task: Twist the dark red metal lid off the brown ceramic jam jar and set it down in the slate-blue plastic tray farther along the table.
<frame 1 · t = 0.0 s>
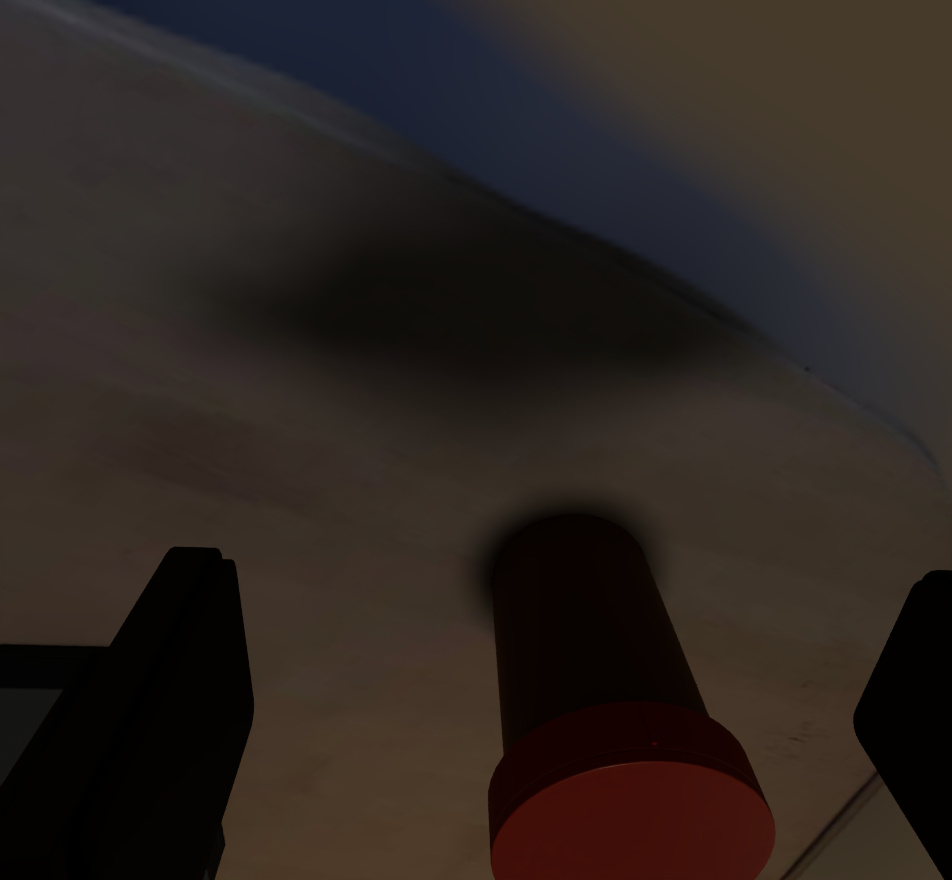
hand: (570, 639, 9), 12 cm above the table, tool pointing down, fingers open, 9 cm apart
jar lid: (629, 842, 16), point 9 cm above the table, screwed on, not yet turned
tray: (58, 755, 28), on the table
jar: (568, 579, 24), on the table
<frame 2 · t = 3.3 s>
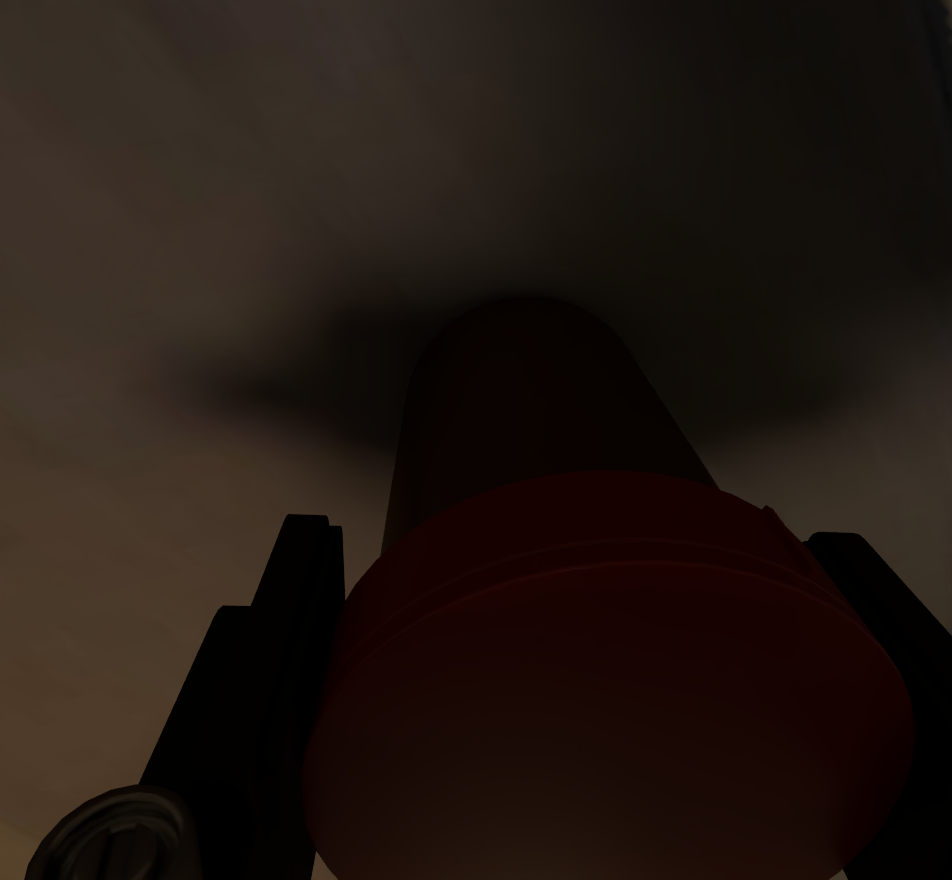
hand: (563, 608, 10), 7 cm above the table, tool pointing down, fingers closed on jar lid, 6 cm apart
jar lid: (599, 778, 8), point 9 cm above the table, screwed on, not yet turned, touching gripper
jar: (523, 412, 16), on the table
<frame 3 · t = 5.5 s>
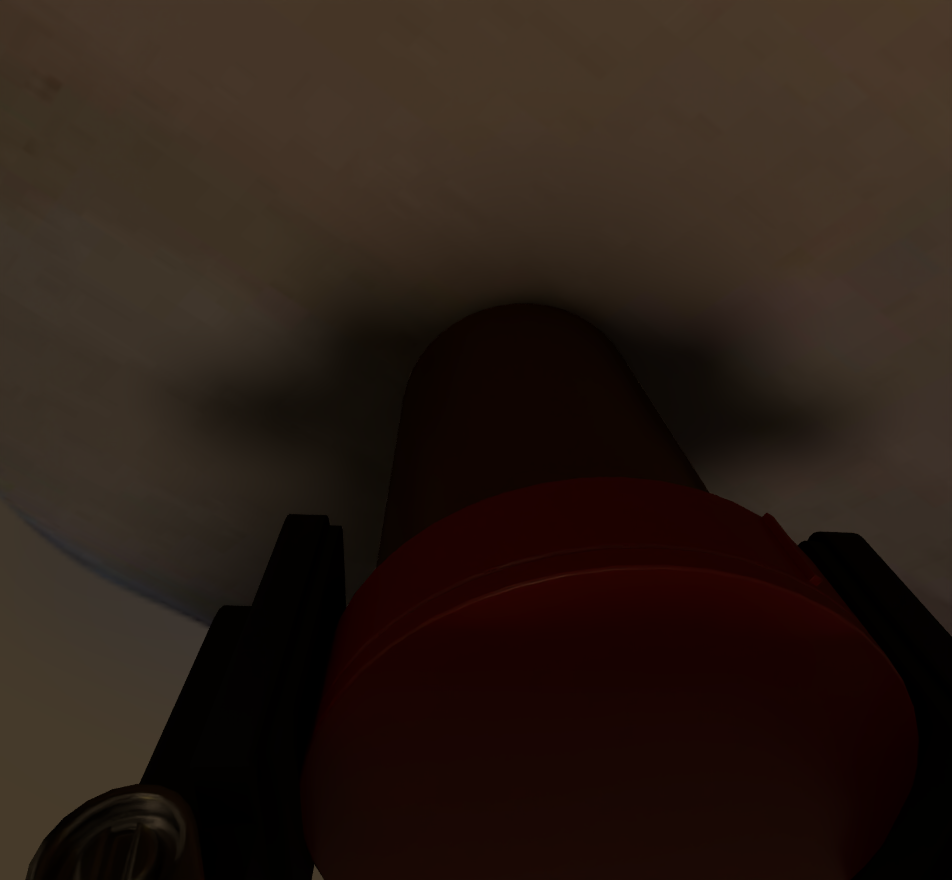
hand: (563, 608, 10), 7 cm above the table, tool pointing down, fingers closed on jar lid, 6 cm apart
jar lid: (601, 789, 7), point 10 cm above the table, off its thread, touching gripper
jar: (518, 417, 16), on the table
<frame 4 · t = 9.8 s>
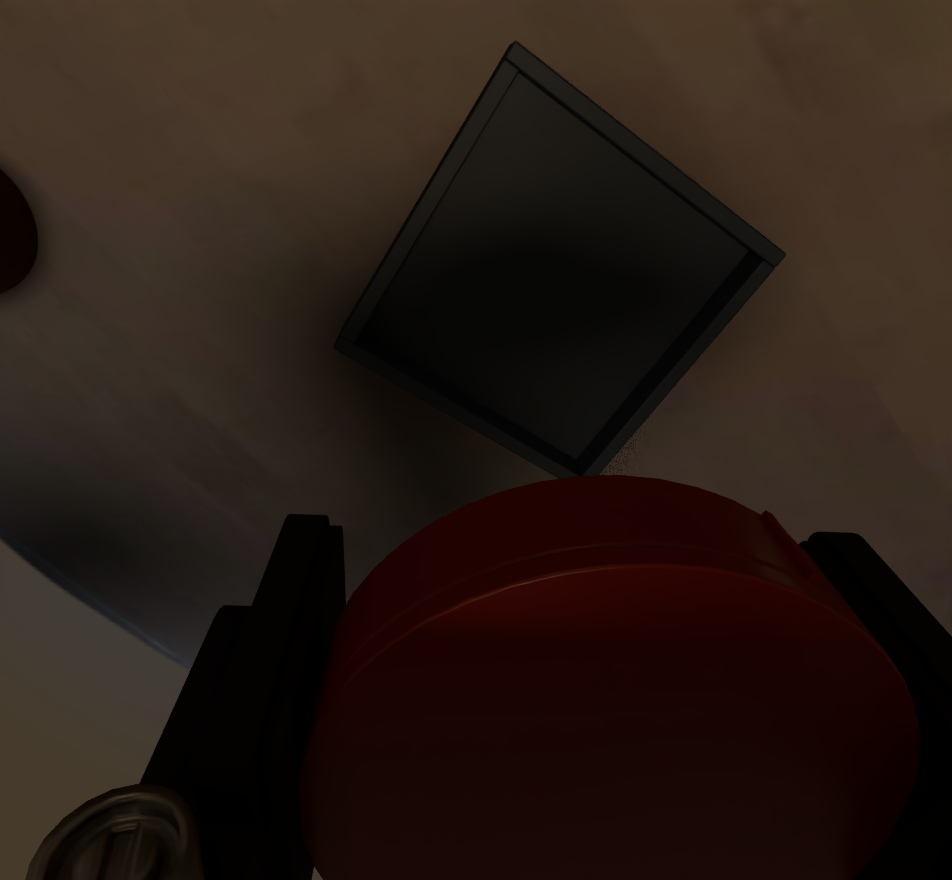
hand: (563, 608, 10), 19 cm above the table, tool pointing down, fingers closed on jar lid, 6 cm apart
jar lid: (601, 789, 7), point 22 cm above the table, off its thread, touching gripper
tray: (548, 288, 27), on the table
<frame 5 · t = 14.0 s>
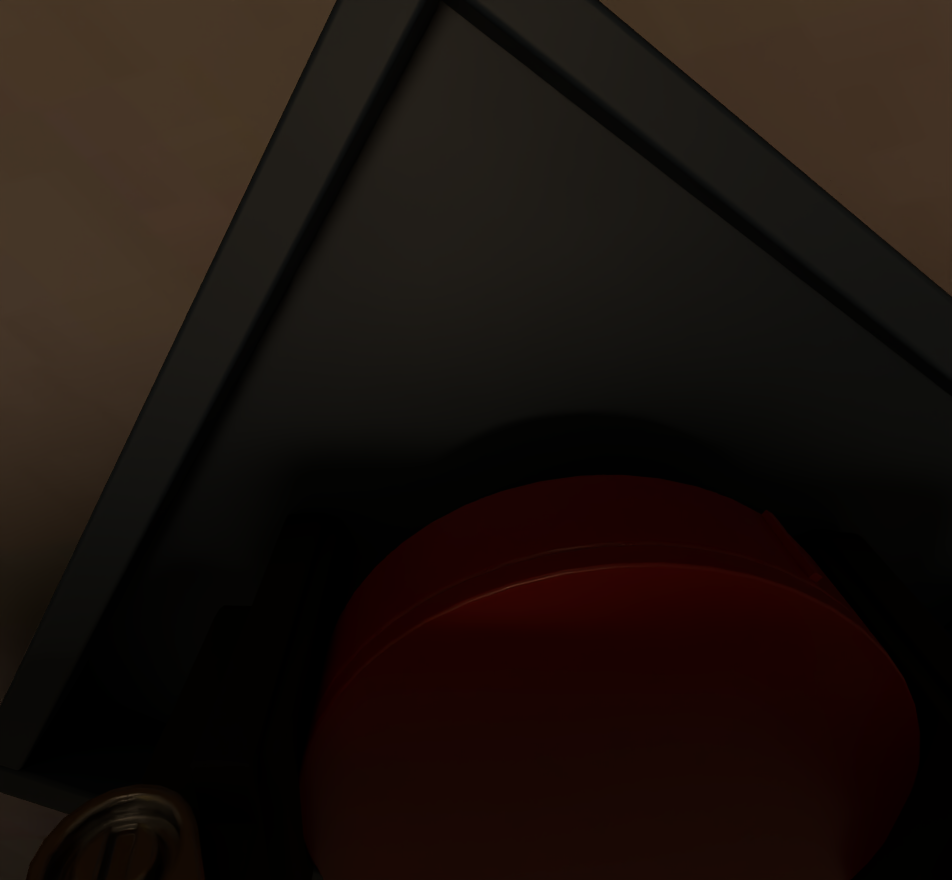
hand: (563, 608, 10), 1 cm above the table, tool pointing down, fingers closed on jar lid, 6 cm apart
jar lid: (601, 788, 7), point 4 cm above the table, off its thread, touching gripper
tray: (552, 580, 11), on the table
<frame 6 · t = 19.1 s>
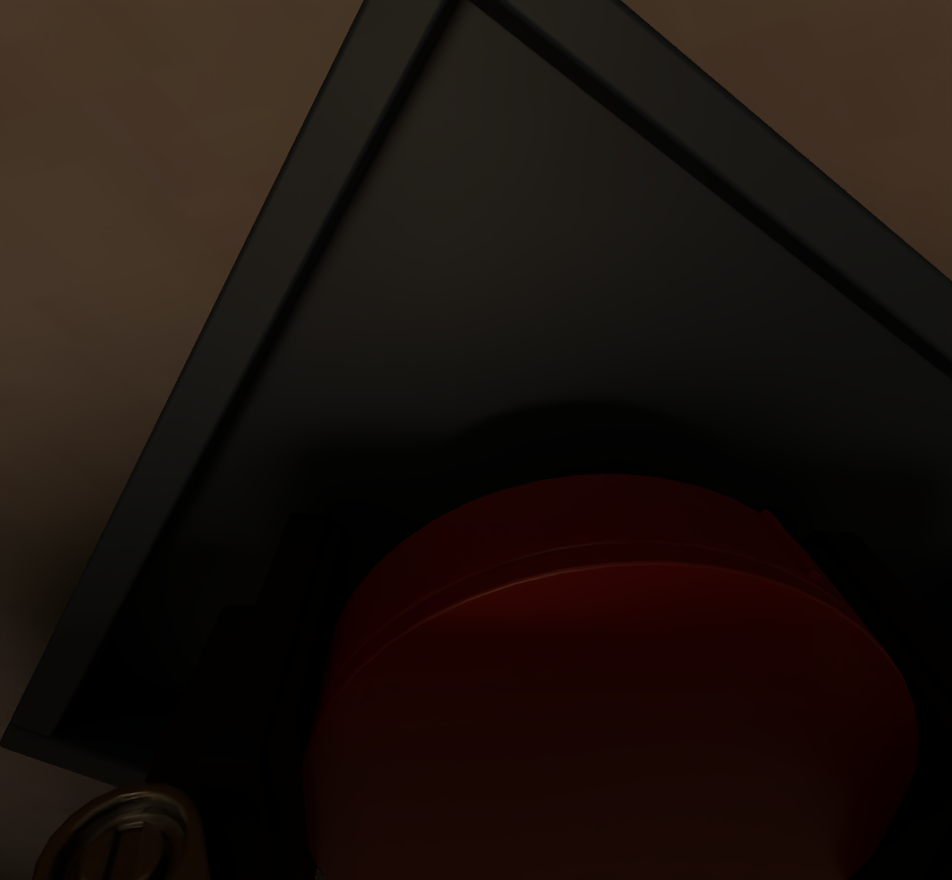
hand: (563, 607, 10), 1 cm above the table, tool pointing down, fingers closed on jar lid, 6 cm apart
jar lid: (601, 786, 7), point 4 cm above the table, off its thread, touching gripper
tray: (562, 558, 11), on the table
when the fingers open (2 cm above the table, at t = 24.1 s): jar lid drops 3 cm, resting on tray.
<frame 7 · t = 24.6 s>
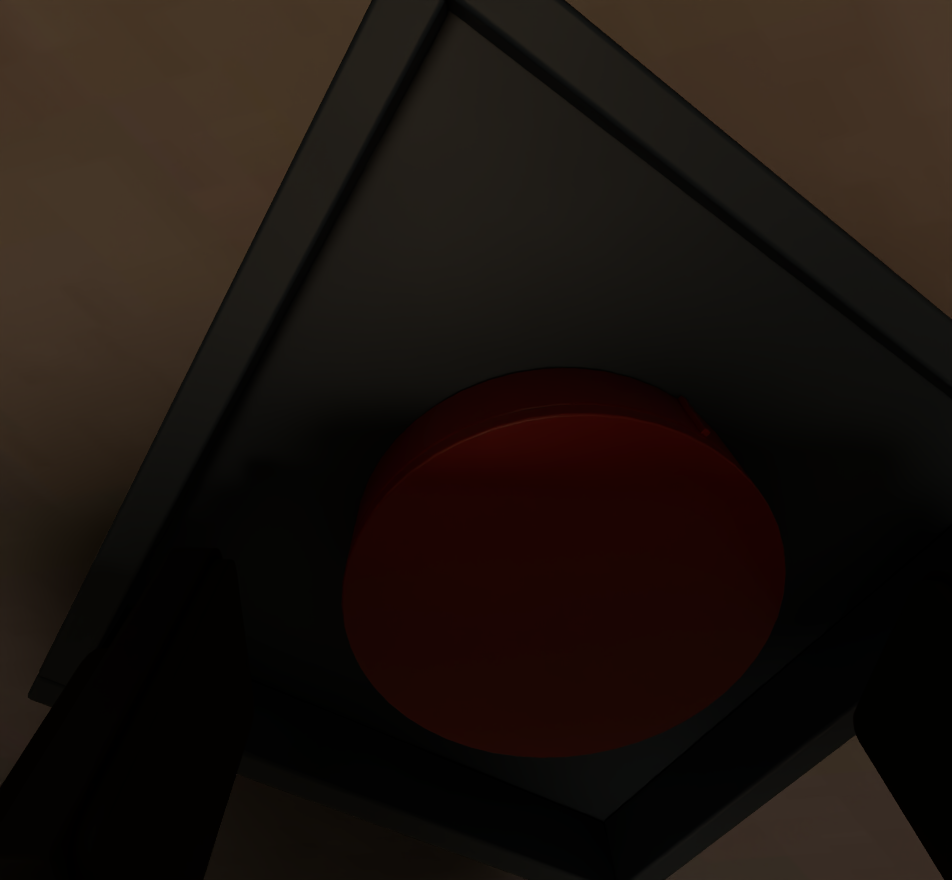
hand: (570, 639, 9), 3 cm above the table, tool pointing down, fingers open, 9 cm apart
jar lid: (560, 598, 10), point 2 cm above the table, off its thread, touching tray
tray: (546, 527, 12), on the table
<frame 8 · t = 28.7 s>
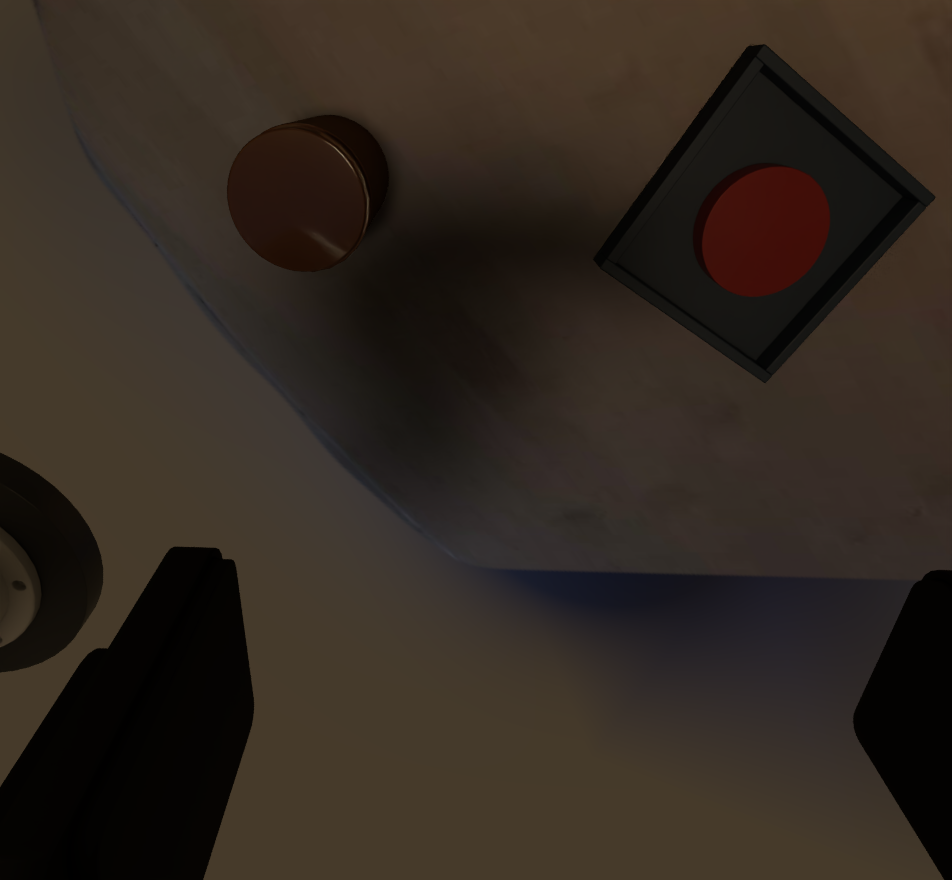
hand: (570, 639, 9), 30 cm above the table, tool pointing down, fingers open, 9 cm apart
jar lid: (763, 233, 35), point 2 cm above the table, off its thread, touching tray
tray: (750, 225, 36), on the table
jar: (334, 174, 35), on the table
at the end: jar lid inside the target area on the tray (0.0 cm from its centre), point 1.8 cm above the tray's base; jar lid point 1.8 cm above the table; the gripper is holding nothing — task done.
